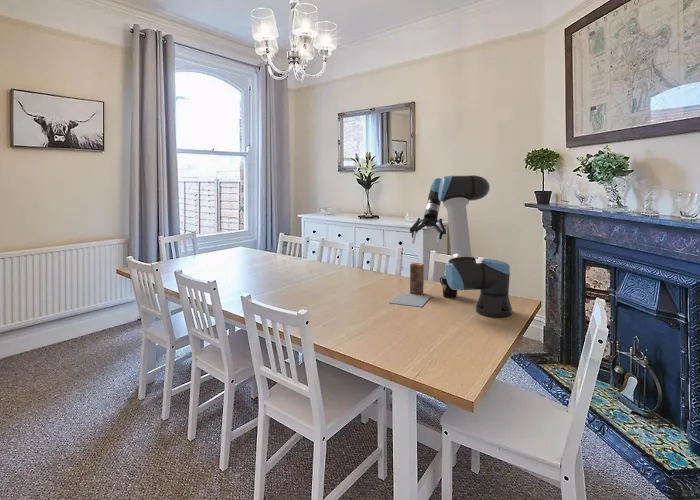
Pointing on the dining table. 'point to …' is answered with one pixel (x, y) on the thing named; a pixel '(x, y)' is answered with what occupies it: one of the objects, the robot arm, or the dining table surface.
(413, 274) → the walnut block
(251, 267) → the dining table surface
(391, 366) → the dining table surface
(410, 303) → the rubber mat
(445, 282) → the coffee mug
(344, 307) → the dining table surface
